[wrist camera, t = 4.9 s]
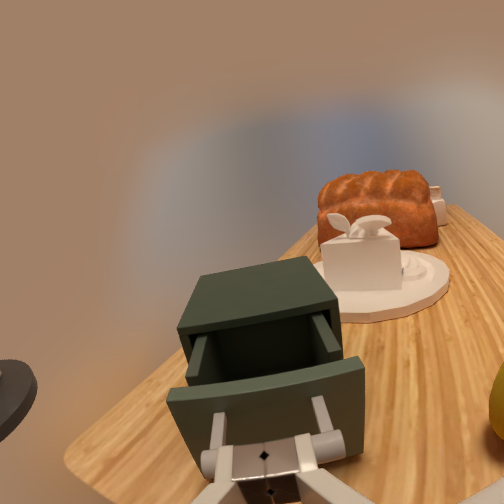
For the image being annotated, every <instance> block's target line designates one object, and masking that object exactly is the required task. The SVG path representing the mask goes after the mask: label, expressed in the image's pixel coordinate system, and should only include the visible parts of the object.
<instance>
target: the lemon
mask: <svg viewBox="0 0 504 504" xmlns="http://www.w3.org/2000/svg"><path fill="white" fill-rule="evenodd" d="M489 419H490V423H491V426H492V428H493V430H494V431H495V433H496V434H497V435H498V436H499V437H500V438H501V439H502V440H504V362H503V364H502V366H501V367H500V369H499V371H498V373H497V376H496V378H495V381H494V384H493V387H492V391H491V394H490V399H489Z"/></svg>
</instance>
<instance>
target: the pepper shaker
mask: <svg viewBox="0 0 504 504" xmlns="http://www.w3.org/2000/svg"><path fill="white" fill-rule="evenodd" d="M429 189H430V199H431V200H432V203H433V205H434V209H435V213H436V217H437V225H438V226H441V225H446V224H447V217H446V205H445V200H443V199H441V188H440V186H432V187H429Z"/></svg>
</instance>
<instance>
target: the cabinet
mask: <svg viewBox="0 0 504 504" xmlns="http://www.w3.org/2000/svg"><path fill="white" fill-rule="evenodd" d="M317 311H321V312H322V314H323V316H324V318H325V320H326V321H327V323H328V325H329V327H330V329H331V331H332V333H333V334H334V336H335V338H336V340H337V342H338V344H339V346H340V348H341V350H342V360H343V345H342V333H341V322H340V311H339V302H338V298H337V296H336V295H335V294H334V292H333V291H332V289H331V288H330V287H329V285H328V284H327V283H326V281H325V280H324V279H323V277H322V276H321V275H320V273H319V272H318V271H317V269H316V268H315V267H314V265H313V264H312V263H311V261H310V260H309V259H308V258H307V256H301V257H296V258H291V259H286V260H281V261H276V262H271V263H266V264H261V265H256V266H251V267H245V268H240V269H235V270H230V271H225V272H219V273H214V274H209V275H203V276H200V278H199V280H198V282H197V285H196V287H195V289H194V291H193V293H192V295H191V298H190V300H189V302H188V304H187V306H186V309H185V311H184V313H183V315H182V318H181V320H180V322H179V324H178V326H177V331H178V334H179V338H180V341H181V344H182V347H183V350H184V353H185V356H186V359H187V362H188V365H189V362H190V358H191V355H192V352H193V348H194V345H195V342H196V338H197V335H198V333H204V332H210V331H217V330H223V329H229V328H235V327H240V326H246V325H252V324H257V323H263V322H268V321H273V320H278V319H283V318H288V317H293V316H298V315H303V314H308V313H312V312H317Z"/></svg>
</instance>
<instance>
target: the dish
mask: <svg viewBox="0 0 504 504" xmlns="http://www.w3.org/2000/svg"><path fill="white" fill-rule="evenodd" d="M327 217H328V220H329V223H330V224H331V225H332V227H333V228H335V229H337V230H340V231H343V232H345V233H344V234H342V235H340V236H338V237H336V238H333V239H331V240H329V241H327V242H324V243H322V244H320V248H321V255H322V261H320V262H318V263H316V264H313V265H314V267H315V268H316V269H317V271H318V272H319V273H320V275H321V276H322V277H323V279H324V280H325V281H326V283H327V284H328V285H329V287H330V288H331V289H332V291H333V292H334V294H335V295H336V296H337V298H338V302H339V311H340V322H343V323H372V322H378V321H384V320H389V319H394V318H400V317H405V316H408V315H410V314H413V313H415V312H417V311H420V310H422V309H424V308H427V307H429V306H431V305H433V304H434V303H435V302H436V301H437V300H439V299H440V298H441V297H442V296H443V295H444V294H445V293H446V292H447V290H448V285H449V281H450V270H449V269H448V267H447V266H446V265H445V263H444V262H443V261H441V260H439V259H437V258H435V257H433V256H431V255H428V254H424V253H419V252H414V251H403V250H400V240H399V239H398V238H397V237H396V236H394V235H393V234H391V233H390V232H388V231H387V230H386V229H384V228H383V227H386V226H388V225H391V224H392V223H391V219H390V218H388V217H386V216H382V215H369V216H364V217H361V218H359V219H356V222H355V223H353V224H352V225H351V227H350V224H349V221H348V220H347V219H346V217H345V216H343V215H341V214H338V213H331V214H327Z"/></svg>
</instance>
